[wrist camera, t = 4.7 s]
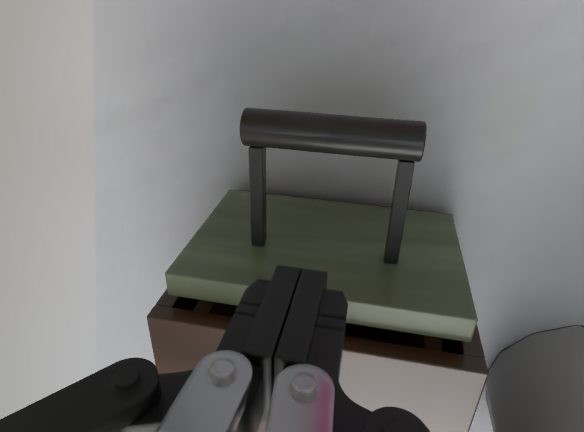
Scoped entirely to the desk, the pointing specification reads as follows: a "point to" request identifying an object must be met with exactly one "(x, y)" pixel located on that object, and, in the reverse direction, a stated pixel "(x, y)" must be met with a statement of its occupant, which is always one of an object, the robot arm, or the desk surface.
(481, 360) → the cabinet
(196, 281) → the drawer
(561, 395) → the cup
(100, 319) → the desk surface
